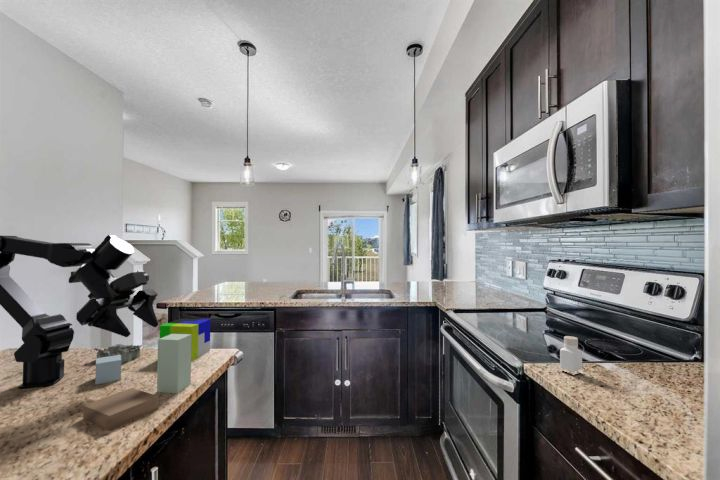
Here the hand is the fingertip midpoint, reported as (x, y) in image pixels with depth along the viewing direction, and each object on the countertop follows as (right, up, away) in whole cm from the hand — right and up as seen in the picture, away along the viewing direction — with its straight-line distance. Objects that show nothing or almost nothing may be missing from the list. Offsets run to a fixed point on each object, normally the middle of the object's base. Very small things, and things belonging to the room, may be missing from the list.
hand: (143, 330), depth 80 cm
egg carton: (-20, -14, +20) cm, 31 cm away
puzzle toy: (-2, -14, +23) cm, 27 cm away
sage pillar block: (+8, -13, -1) cm, 15 cm away
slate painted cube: (-11, -13, +4) cm, 18 cm away
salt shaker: (+109, -15, +11) cm, 110 cm away
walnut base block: (+4, -13, -13) cm, 19 cm away
